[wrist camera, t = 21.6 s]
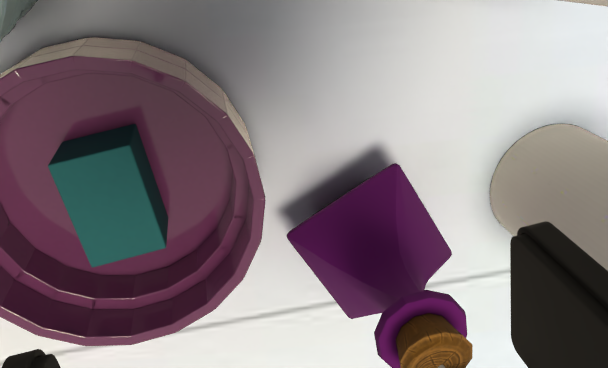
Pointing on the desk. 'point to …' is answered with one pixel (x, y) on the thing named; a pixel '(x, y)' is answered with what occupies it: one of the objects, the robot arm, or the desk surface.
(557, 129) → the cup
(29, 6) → the green tumbler
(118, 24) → the desk surface
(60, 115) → the bowl
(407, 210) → the perfume bottle
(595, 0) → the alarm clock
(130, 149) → the eraser
